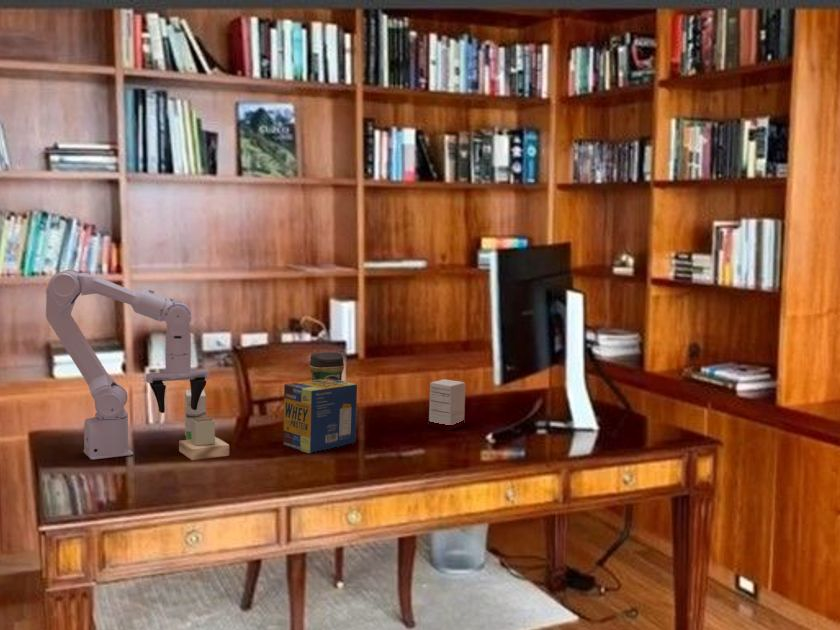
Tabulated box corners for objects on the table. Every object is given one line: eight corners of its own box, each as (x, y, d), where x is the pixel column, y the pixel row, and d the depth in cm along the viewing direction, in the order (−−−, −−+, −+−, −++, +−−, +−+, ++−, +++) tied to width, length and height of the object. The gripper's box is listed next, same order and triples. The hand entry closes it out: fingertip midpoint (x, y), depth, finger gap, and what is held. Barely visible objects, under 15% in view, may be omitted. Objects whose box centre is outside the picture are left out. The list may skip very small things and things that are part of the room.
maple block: (191, 462, 198) (191, 449, 198) (179, 453, 206) (179, 440, 205) (229, 457, 203) (229, 444, 203) (215, 448, 211) (215, 436, 210)
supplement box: (442, 422, 244) (444, 378, 243) (464, 426, 240) (466, 382, 239) (427, 427, 238) (429, 382, 237) (450, 431, 234) (451, 385, 233)
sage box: (196, 445, 201) (195, 420, 200) (191, 442, 205) (191, 417, 204) (215, 443, 203) (214, 418, 202) (209, 440, 207) (209, 415, 206)
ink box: (206, 441, 215) (206, 395, 214) (186, 442, 214) (186, 395, 212) (204, 433, 223) (204, 388, 222) (184, 434, 222) (184, 389, 221)
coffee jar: (336, 412, 253) (337, 350, 251) (346, 418, 246) (348, 353, 244) (305, 415, 249) (306, 351, 247) (314, 420, 242) (316, 355, 240)
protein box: (282, 445, 213) (283, 384, 212) (329, 436, 225) (330, 377, 223) (309, 454, 206) (310, 390, 205) (356, 444, 218) (358, 383, 216)
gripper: (152, 357, 195) (152, 416, 197) (214, 354, 203) (213, 411, 205) (143, 353, 201) (143, 410, 202) (203, 350, 209) (203, 405, 210)
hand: (178, 410), depth 204 cm, fingers open, 7 cm apart
